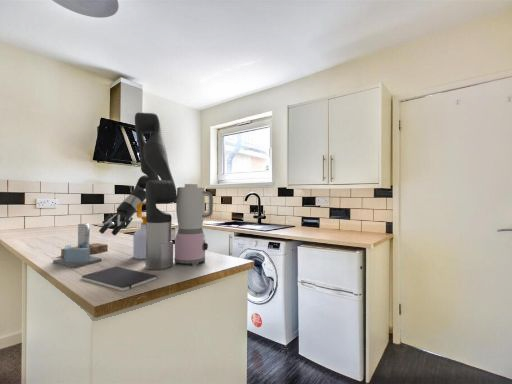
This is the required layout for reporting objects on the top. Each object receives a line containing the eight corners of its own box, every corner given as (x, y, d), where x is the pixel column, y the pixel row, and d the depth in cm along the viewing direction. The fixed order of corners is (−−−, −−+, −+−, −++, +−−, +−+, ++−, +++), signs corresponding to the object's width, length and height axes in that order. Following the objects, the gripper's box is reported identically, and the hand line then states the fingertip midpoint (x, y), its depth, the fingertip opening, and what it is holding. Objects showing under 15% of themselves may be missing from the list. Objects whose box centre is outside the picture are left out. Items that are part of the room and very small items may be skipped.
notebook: (157, 280, 88) (116, 270, 98) (157, 275, 88) (116, 266, 98) (123, 293, 77) (80, 280, 87) (123, 287, 77) (80, 275, 87)
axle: (91, 257, 110) (91, 223, 110) (81, 259, 107) (81, 224, 107) (85, 256, 112) (85, 223, 112) (75, 258, 109) (75, 224, 109)
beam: (97, 249, 131) (97, 242, 131) (107, 250, 127) (107, 244, 127) (61, 255, 117) (61, 249, 117) (71, 258, 113) (71, 251, 113)
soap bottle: (150, 259, 113) (151, 201, 113) (129, 259, 113) (130, 201, 113) (158, 254, 122) (159, 200, 122) (139, 254, 122) (139, 200, 122)
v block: (102, 261, 109) (102, 246, 109) (74, 267, 99) (74, 251, 99) (81, 256, 116) (81, 242, 116) (52, 262, 106) (52, 247, 106)
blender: (168, 265, 104) (169, 183, 104) (182, 257, 116) (183, 184, 116) (206, 268, 101) (207, 183, 101) (217, 260, 113) (218, 184, 113)
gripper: (114, 200, 130) (90, 227, 119) (135, 201, 123) (111, 229, 113) (124, 210, 134) (102, 237, 124) (144, 212, 128) (122, 240, 118)
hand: (106, 233), depth 119 cm, fingers open, 8 cm apart
